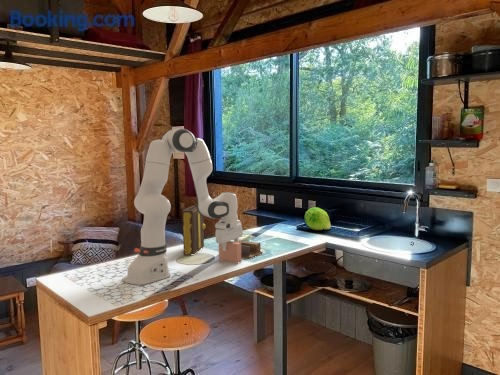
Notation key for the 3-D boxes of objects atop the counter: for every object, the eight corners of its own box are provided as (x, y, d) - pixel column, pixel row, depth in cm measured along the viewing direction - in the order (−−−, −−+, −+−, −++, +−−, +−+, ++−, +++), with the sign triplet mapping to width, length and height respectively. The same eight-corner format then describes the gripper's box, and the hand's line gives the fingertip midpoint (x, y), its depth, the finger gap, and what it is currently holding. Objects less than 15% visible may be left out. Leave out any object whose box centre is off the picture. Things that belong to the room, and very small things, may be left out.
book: (195, 255, 227) (194, 211, 225) (180, 255, 229) (179, 210, 227) (207, 245, 249) (206, 205, 246) (193, 245, 251) (192, 204, 248)
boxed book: (237, 263, 213) (237, 244, 212) (218, 259, 219) (218, 241, 218) (241, 261, 216) (241, 242, 215) (222, 258, 222) (222, 240, 221)
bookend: (249, 255, 222) (248, 246, 221) (230, 253, 228) (230, 244, 228) (250, 255, 223) (249, 246, 222) (231, 252, 229) (231, 243, 228)
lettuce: (329, 235, 280) (339, 215, 284) (304, 220, 280) (314, 200, 284) (321, 238, 297) (330, 219, 301) (297, 223, 296) (307, 205, 301)
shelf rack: (250, 258, 220) (250, 247, 219) (226, 254, 228) (226, 244, 228) (262, 253, 230) (262, 242, 230) (238, 249, 239) (238, 239, 238)
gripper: (235, 218, 226) (236, 243, 227) (213, 225, 208) (213, 252, 210) (245, 219, 222) (245, 244, 224) (223, 226, 205) (223, 253, 207)
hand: (230, 248), depth 217 cm, fingers open, 8 cm apart
